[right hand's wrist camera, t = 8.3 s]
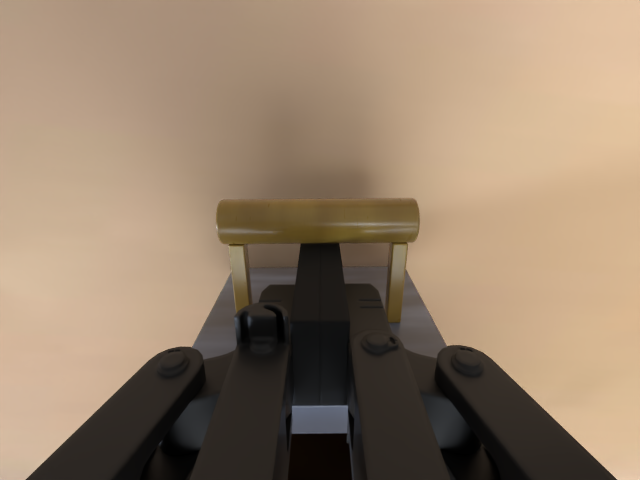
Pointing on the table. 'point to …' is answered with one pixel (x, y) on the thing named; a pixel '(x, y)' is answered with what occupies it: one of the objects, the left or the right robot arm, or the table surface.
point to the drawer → (392, 282)
